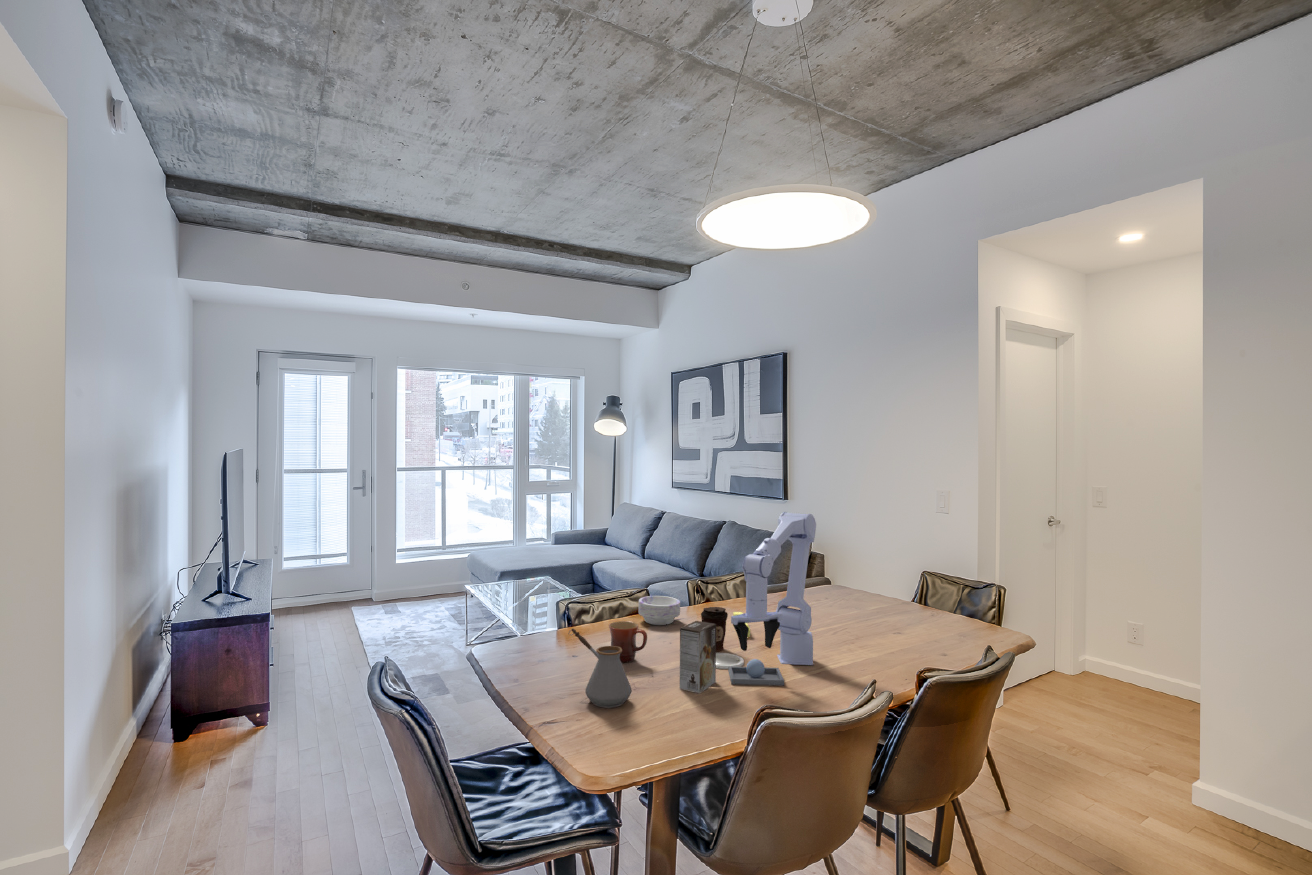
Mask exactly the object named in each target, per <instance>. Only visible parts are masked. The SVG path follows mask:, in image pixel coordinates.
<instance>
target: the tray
mask: <svg viewBox="0 0 1312 875" xmlns="http://www.w3.org/2000/svg"><path fill="white" fill-rule="evenodd" d="M764 667H765V666H764ZM727 671H728V676H729V680H730V684H731V685H738V686H739V685H741V686H772V687H773V686H774V687H775V686H776V687H785V678H784V677H783V675H782V672H781V671H780V668H779V667H767V666H766V667H765V671H764V674H763V675H762V676H761V677H760V678H752V677H750V676H749V675H748V673H747V670H746V666H741V667H733V666H728V669H727Z"/></svg>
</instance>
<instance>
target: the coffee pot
mask: <svg viewBox="0 0 1312 875" xmlns="http://www.w3.org/2000/svg"><path fill="white" fill-rule="evenodd" d="M570 632H572V633H571V636H573V635H574V637H577V638H578V640H579V641H580V642H581V643H582V645H584V646H585V647H586V648H587V649H588V650H589V651H590V652H591V653H592V654H593V655H594V656H595V657H596V658H597V662H596V663H595V666H594V669H593V671H592V673H591V676H590V678H589V680H588V683H587V684H586V687H585V689H584V690H585V695H586V697H587V698H588V700H589V701H590V702H592V704H593V705H595V706H596V707H598V708H604V709H605V708H606V709H608V708H609V709H610V708H617V707H620V706H622V705H624V704H625V702H626V701H628V699H629V698H630V696H631V695H632V694H631V693H632V692H633V691H632V687H631V683H630V682H629V679H628V676H627V674H626V671H625V669H624V666H623V663H621V661H620V658H619V657H620V653H621V652H622V649H621V647H617V646H611V645H604V646H600V647H598V648H596V650H595V649H594V648H593V647H592V645H591V644H590V643H589V642H588V640H586V638H585V637H583V635H581V634H580V632H578V631H577V630H576V629H574V628H572V629H570V630H569V631H568V635H570Z"/></svg>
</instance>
